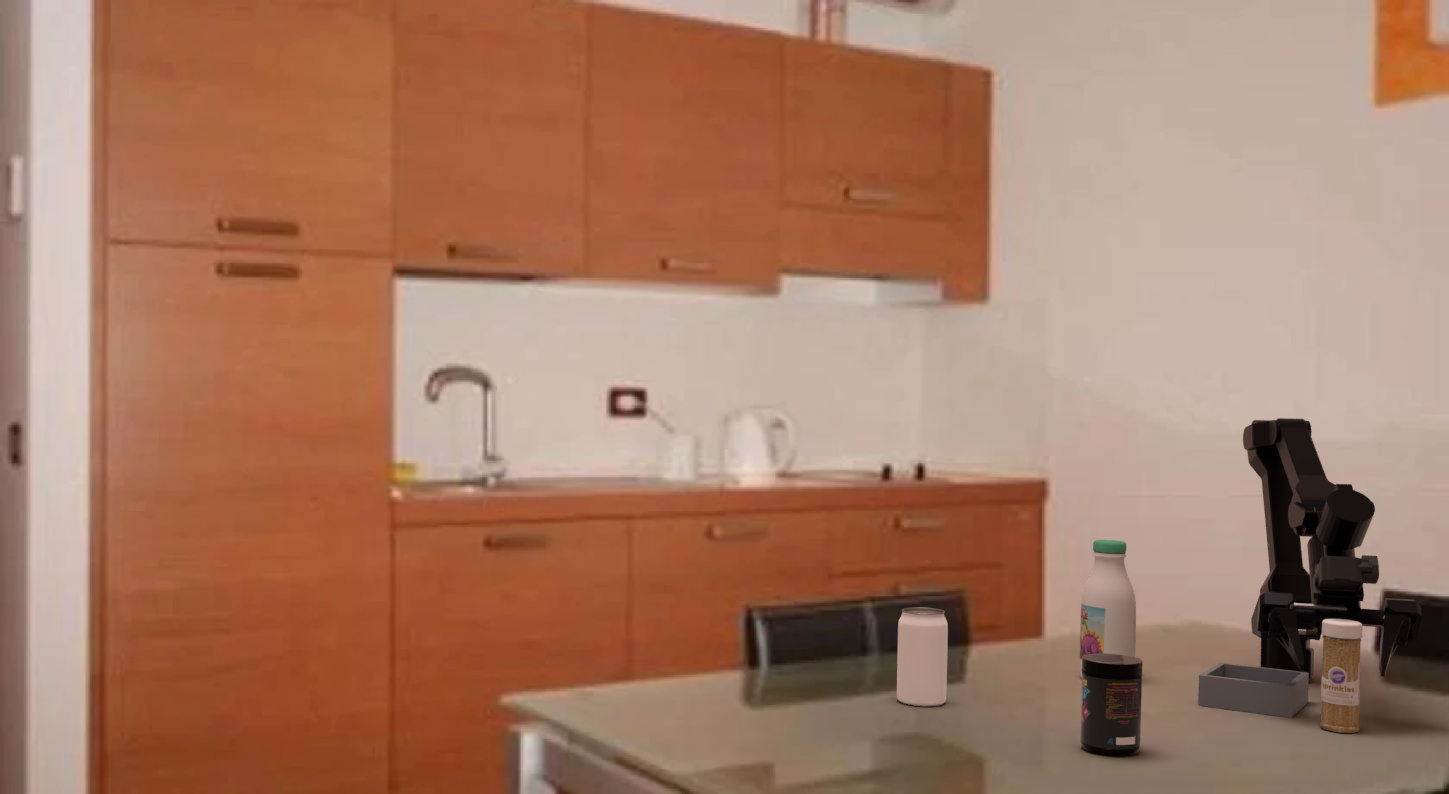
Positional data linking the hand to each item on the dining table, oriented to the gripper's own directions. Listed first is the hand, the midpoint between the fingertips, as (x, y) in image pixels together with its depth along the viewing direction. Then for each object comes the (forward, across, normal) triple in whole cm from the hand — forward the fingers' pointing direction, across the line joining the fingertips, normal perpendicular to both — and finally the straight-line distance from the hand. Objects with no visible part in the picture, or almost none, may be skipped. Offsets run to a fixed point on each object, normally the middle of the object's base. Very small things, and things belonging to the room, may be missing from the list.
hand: (1342, 671), depth 169 cm
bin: (-4, -9, +14) cm, 17 cm away
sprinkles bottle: (+5, 0, +6) cm, 8 cm away
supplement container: (+20, -27, -10) cm, 35 cm away
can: (+8, -51, +2) cm, 52 cm away
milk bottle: (-10, -28, +21) cm, 37 cm away
